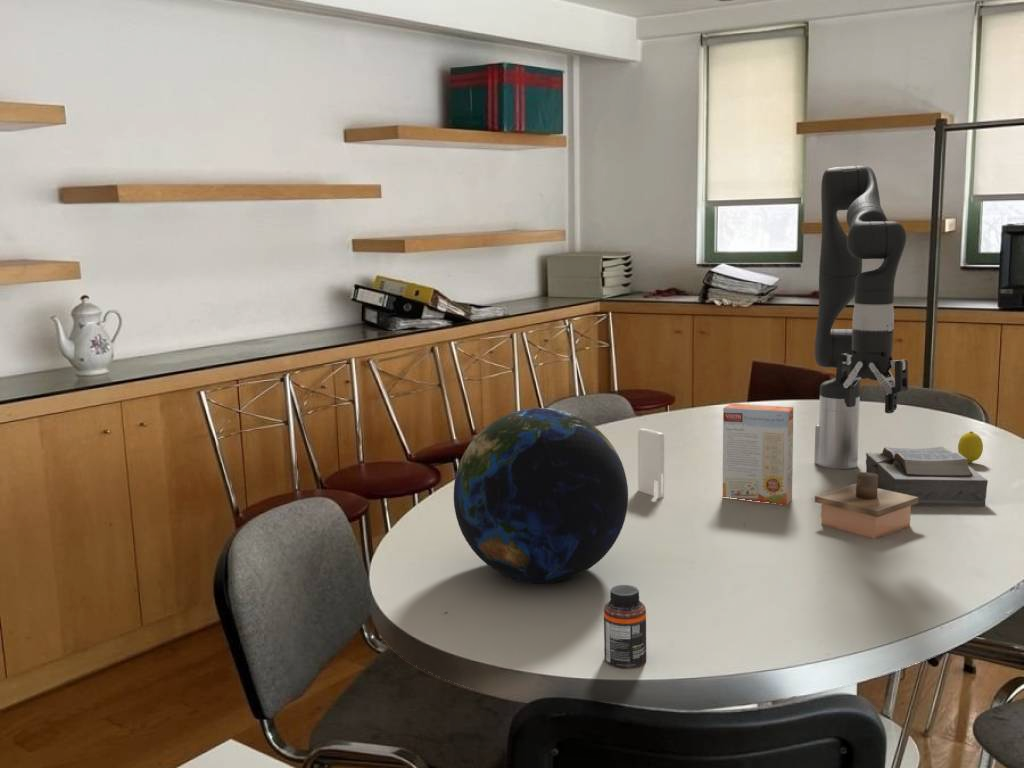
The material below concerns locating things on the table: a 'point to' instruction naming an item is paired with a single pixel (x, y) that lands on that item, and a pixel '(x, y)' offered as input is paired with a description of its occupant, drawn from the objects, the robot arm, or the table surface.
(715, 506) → the table surface
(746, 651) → the table surface
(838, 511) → the dish
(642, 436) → the phone case
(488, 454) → the globe
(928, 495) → the bible
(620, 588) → the supplement bottle
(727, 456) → the cracker box
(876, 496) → the lid
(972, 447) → the lemon
